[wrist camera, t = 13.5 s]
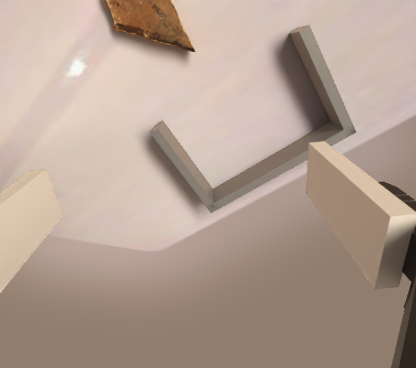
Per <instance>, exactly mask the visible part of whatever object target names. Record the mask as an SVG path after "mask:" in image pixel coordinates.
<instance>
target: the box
mask: <svg viewBox="0 0 416 368" xmlns="http://www.w3.org/2000/svg"><path fill="white" fill-rule="evenodd" d="M289 34H290V36H291V39H292V41H293V43H294V45H295V47H296V49H297V51H298V54H299V56H300V58H301V60H302V62H303V64H304V66H305V68H306V71H307V73H308V75H309V77H310V79H311V81H312V83H313V85H314V88H315V90H316V92H317V94H318V96H319V98H320V100H321V102H322V105H323V107H324V109H325V111H326V113H327V115H328V117H329V120H330V122H328V123H326V124H325V125H323V126H321V127H320V128H318V129H316V130H314V131H313V132H311V133H309V134H308V135H306V136H304V137H302V138H301V139H299V140H297V141H295V142H294V143H292V144H290V145H289V146H287V147H285V148H283V149H282V150H280V151H278V152H277V153H275V154H273V155H271V156H270V157H268V158H266V159H265V160H263V161H261V162H259V163H258V164H256V165H254V166H252V167H251V168H249V169H247V170H246V171H244V172H242V173H240V174H239V175H237V176H235V177H234V178H232V179H230V180H228V181H227V182H225V183H223V184H221V185H220V186H218V187H216V188H215V189H213V188H212V187H211V186H210V184H209V183H208V182H207V180H206V179H205V177H204V176H203V175H202V173H201V172H200V171H199V169H198V168H197V167H196V165H195V164H194V162H193V161H192V160H191V158H190V157H189V156H188V154H187V153H186V152H185V150H184V149H183V147H182V146H181V145H180V143H179V142H178V141H177V139H176V138H175V136H174V135H173V134H172V132H171V131H170V130H169V128H168V127H167V126H166V124H165V123H164V121H161V122H160V123H158V124H157V125H156V126H155V127H154V129H153V130H152V132H151V133H150V134H151V135H152V137H153V138H154V139H155V141H156V142H157V143H158V144H159V146H160V147H161V148H162V150H163V151H164V152H165V154H166V155H167V156H168V157H169V159H170V160H171V161H172V163H173V164H174V165H175V167H176V168H177V169H178V170H179V172H180V173H181V174H182V176H183V177H184V178H185V180H186V181H187V182H188V184H189V185H190V186H191V187H192V189H193V190H194V191H195V193H196V194H197V195H198V197H199V198H200V199H201V200H202V202H203V203H204V204H205V206H206V207H207V208H208V210H209V211H210V212H211V213H212V212H214V211H216V210H218V209H219V208H221V207H223V206H225V205H227V204H228V203H230V202H232V201H234V200H236V199H237V198H239V197H241V196H243V195H245V194H246V193H248V192H250V191H252V190H253V189H255V188H257V187H259V186H261V185H262V184H264V183H266V182H268V181H270V180H271V179H273V178H275V177H277V176H279V175H280V174H282V173H284V172H286V171H288V170H289V169H291V168H293V167H295V166H297V165H298V164H300V163H302V162H304V161H305V160H307V159H308V147H309V143H312V142H322V141H325V142H326V143H327V144H329V145H330V146H332V145H334V144H336V143H338V142H340V141H341V140H343V139H345V138H347V137H349V136H350V135H352V134H354V133H356V131H355V129H354V126H353V124H352V122H351V119H350V117H349V115H348V113H347V110H346V108H345V106H344V103H343V101H342V99H341V96H340V94H339V92H338V90H337V87H336V85H335V83H334V80H333V78H332V76H331V74H330V71H329V69H328V67H327V64H326V62H325V60H324V58H323V55H322V53H321V51H320V48H319V46H318V44H317V42H316V39H315V37H314V35H313V32H312V30H311V28H310V25H307V26H302V27H298V28H296V29H295V30H293V31H292V32H290V33H289Z"/></svg>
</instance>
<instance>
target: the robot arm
mask: <svg viewBox="0 0 416 368" xmlns="http://www.w3.org/2000/svg"><path fill="white" fill-rule="evenodd" d="M306 194H307V195H308V196H309V198H310V199H311V201H312V202H313V203H314V205H315V206H316V207H317V209H318V210H319V212H320V213H321V215H322V216H323V218H324V219H325V220H326V222H327V223H328V225H329V226H330V227H331V229H332V230H333V231H334V233H335V234H336V236H337V237H338V238H339V240H340V241H341V243H342V244H343V246H344V247H345V248H346V250H347V251H348V253H349V254H350V255H351V257H352V258H353V259H354V261H355V262H356V264H357V265H358V267H359V268H360V269H361V271H362V272H363V274H364V275H365V277H366V278H367V279H368V281H369V282H370V284H371V285H372V286H373V288H374V289H382V288H394V287H399V284H400V280H401V276H402V273H404V274H405V275H406V276H407V278H408V279H409V280H410V281H411V286H410V289H409V292H408V295H407V299H406V302H405V305H404V308H405V310H404V314H403V319H402V323H401V327H400V332H399V336H398V340H397V345H396V349H395V354H394V358H393V362H392V367H391V368H416V201H414V199H413V198H411V197H410V196H408V195H406V193H404V192H403V191H402V190H400V189H399V188H397V187H396V186H393V185H391V184H388V183H385V182H377V181H375V180H374V179H373V178H371V177H370V176H369V175H367V174H366V173H365V172H364V171H362V170H361V169H360V168H358V167H357V166H356V165H355V164H353V163H352V162H351V161H349V160H348V159H347V158H345V157H344V156H343V155H342V154H340V153H339V152H338V151H336V150H335V149H334V148H333V147H331V146H330V145H329V144H327V143H326V142H325V141H322V142H312V143H309V147H308V163H307V179H306ZM63 216H64V215H63V213H62V210H61V207H60V205H59V202H58V200H57V197H56V194H55V192H54V189H53V187H52V184H51V181H50V179H49V176H48V174H47V171H46V169H42V170H32V171H30V172H28V173H27V174H25V175H24V176H23V177H21V178H20V179H19V180H17V181H16V182H14V183H13V184H12V185H10V186H9V187H8V188H6V189H5V190H3V191H2V192H1V193H0V293H1V291H2V290H3V289H4V288H5V286H6V285H7V284H8V283H9V282H10V280H11V279H12V278H13V277H14V275H15V274H16V273H17V272H18V271H19V269H20V268H21V267H22V266H23V264H24V263H25V262H26V261H27V260H28V258H29V257H30V256H31V255H32V253H33V252H34V251H35V250H36V249H37V247H38V246H39V245H40V244H41V242H42V241H43V240H44V239H45V238H46V236H47V235H48V234H49V233H50V232H51V230H52V229H53V228H54V227H55V225H56V224H57V223H58V222H59V221H60V219H61V218H62V217H63Z"/></svg>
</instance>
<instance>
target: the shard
mask: <svg viewBox="0 0 416 368" xmlns="http://www.w3.org/2000/svg"><path fill="white" fill-rule="evenodd" d="M106 2H107V4H108V6H109V8H110V11H111V14H112V17H113V20H114V29H115V30H118V31H123V32H126V33H129V34H133V35H137V36H140V37H144V38H147V39H150V40H153V41H157V42H159V43H163V44H166V45H172V46H176V47H181V48H184V49H185V50H187V51H191V52H195V50H194V48H193V45H192V44H191V41H190V39H189V37H188V36H187V34H186V32H185V31H184V28H183V26H182V24H181V22H180V20H179V18H178V14H177V11H176V9H175V7H174V5H173V3H172V1H171V0H106Z"/></svg>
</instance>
